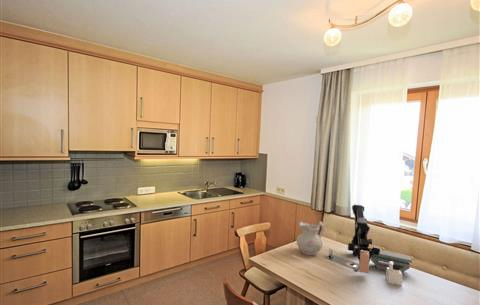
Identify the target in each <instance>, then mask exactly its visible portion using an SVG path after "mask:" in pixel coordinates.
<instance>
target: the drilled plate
mask: <svg viewBox="0 0 480 305" xmlns="http://www.w3.org/2000/svg"><path fill="white" fill-rule="evenodd" d="M325 259H326V260H328V261H330V262H331V261H332V262H334V263H336V264H338V265H341V266H344V267H347V268H348V269H352V270H353V272H355V273H356V272H360V271H359V263H357V262H354V261H351V260H348V259H346V258H343V257H341V256H338V255H336V254H333V255H332V257H329V255H328V256H327V257H325Z"/></svg>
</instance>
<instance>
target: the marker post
mask: <svg viewBox="0 0 480 305" xmlns="http://www.w3.org/2000/svg"><path fill="white" fill-rule="evenodd" d="M359 255H360V261H359V260H358V264H359V271H358V272H359V273H363V274H369V269H370V268H369V267H370V262H369V251H365V250H361V251H360V254H359Z"/></svg>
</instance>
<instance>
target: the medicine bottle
mask: <svg viewBox="0 0 480 305" xmlns="http://www.w3.org/2000/svg"><path fill="white" fill-rule="evenodd" d="M385 278H386V280H387V282H388V284H393V285H397V286H403V272H402V273H401V271H400V264H399V263H397V262H394V261H390V262H389V267H387V270H386V271H385Z"/></svg>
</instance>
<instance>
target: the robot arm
mask: <svg viewBox="0 0 480 305" xmlns="http://www.w3.org/2000/svg"><path fill="white" fill-rule="evenodd" d="M351 211H352V213H353V216H354V235H353V236H352V239H351V241H350V242H349V243H348V245H347V250H348V251H351V252H352V256H354V257H356V258H357V259H358V262H359V261H360V255H359V254H360V251H366V252H368V253H369V263H370V262H371V255H379V253H380V250H381V248H380V247H377V246H372V247H371V248H370V245H373V239H372V238H368V235H369V232H370V229H371V228H370V226H369V224H368V223H367V220H366V219H365V215H364V212H365V206H363V205H361V204H353V205H352V206H351Z"/></svg>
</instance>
